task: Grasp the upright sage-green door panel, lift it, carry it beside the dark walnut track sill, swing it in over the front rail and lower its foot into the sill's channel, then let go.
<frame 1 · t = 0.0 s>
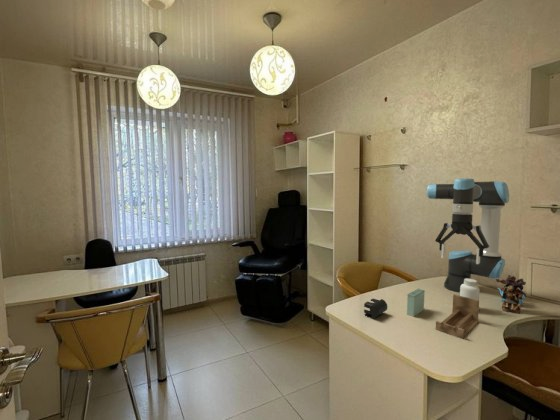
hand: (459, 260, 124), 28 cm above the table, fingers open, 13 cm apart
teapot: (509, 303, 147), on the table
figurine: (509, 310, 138), on the table
door panel: (415, 312, 135), on the table
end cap: (375, 315, 132), on the table
pill bottle: (468, 309, 139), on the table
track sill: (457, 325, 122), on the table
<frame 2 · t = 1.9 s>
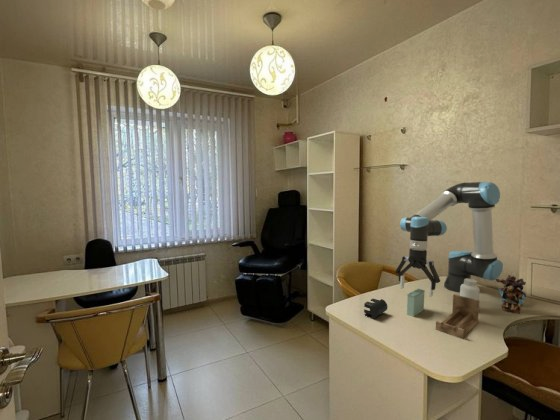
hand: (415, 292, 135), 10 cm above the table, fingers open, 13 cm apart
nothing on the table moved.
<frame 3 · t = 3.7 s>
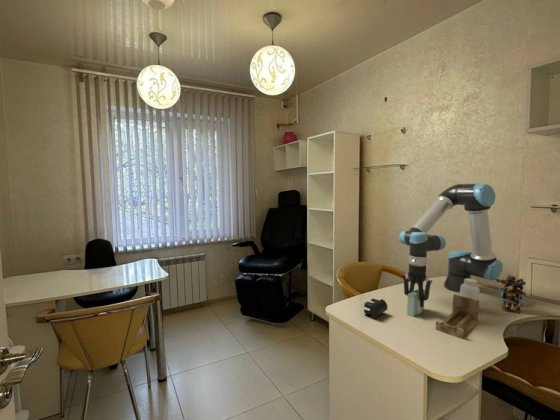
hand: (415, 311, 135), 0 cm above the table, fingers closed on door panel, 3 cm apart
door panel: (415, 312, 135), on the table, touching gripper
everything else where it was.
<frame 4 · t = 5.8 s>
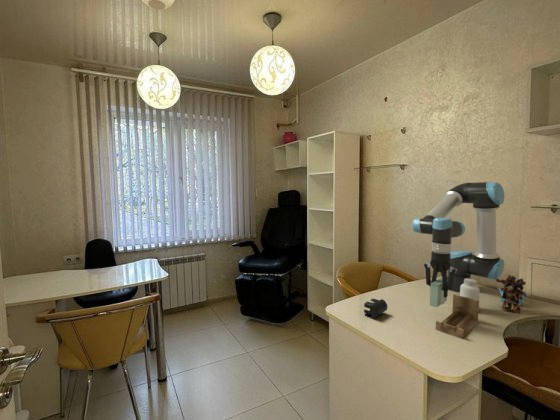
hand: (438, 302, 127), 8 cm above the table, fingers closed on door panel, 3 cm apart
door panel: (438, 302, 127), point 8 cm above the table, touching gripper
everything else where it was.
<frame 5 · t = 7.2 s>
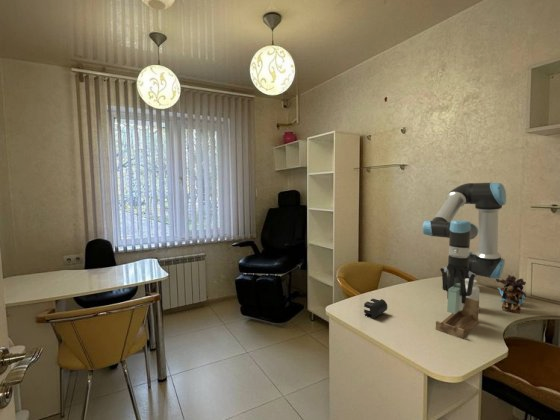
hand: (455, 308, 122), 8 cm above the table, fingers closed on door panel, 3 cm apart
door panel: (455, 308, 122), point 7 cm above the table, touching gripper
everything else where it was.
when the fingers open (5 cm above the table, at t = 8.3 s): door panel drops 3 cm, resting on track sill.
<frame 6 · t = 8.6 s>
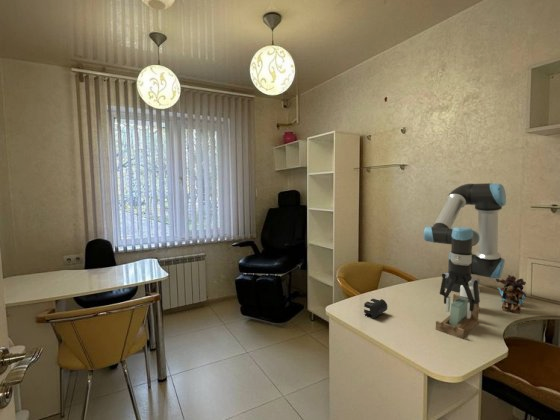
hand: (457, 314, 122), 5 cm above the table, fingers open, 7 cm apart
door panel: (457, 323, 122), point 1 cm above the table, touching track sill
everything else where it was.
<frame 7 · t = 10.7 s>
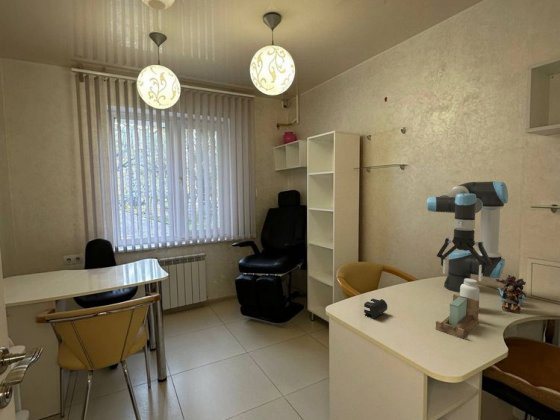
hand: (461, 276, 122), 21 cm above the table, fingers open, 13 cm apart
nothing on the table moved.
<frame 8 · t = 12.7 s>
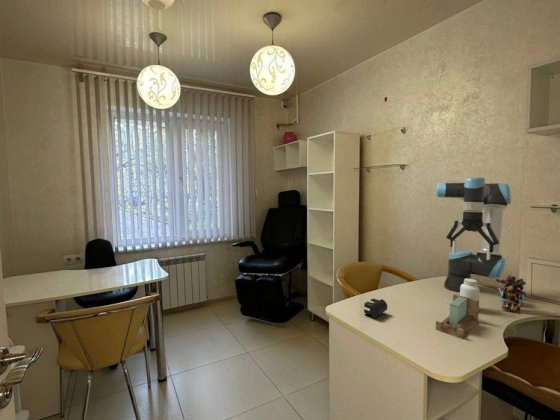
hand: (470, 256, 129), 29 cm above the table, fingers open, 13 cm apart
nothing on the table moved.
at the end: door panel inside the target area on the track sill (0.2 cm from its centre), point 1.0 cm above the track sill's base; door panel tilted 0°; the gripper is holding nothing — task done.
